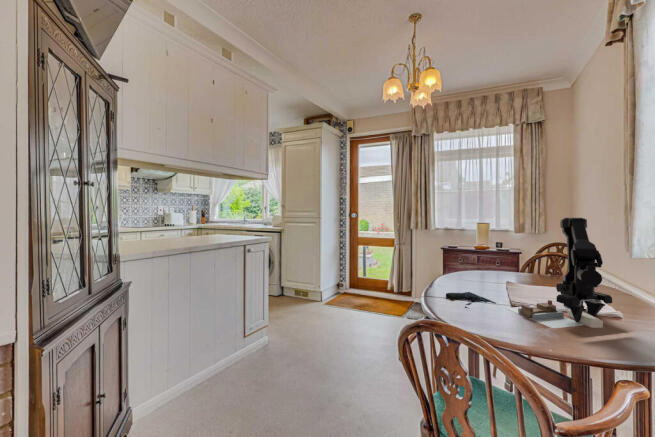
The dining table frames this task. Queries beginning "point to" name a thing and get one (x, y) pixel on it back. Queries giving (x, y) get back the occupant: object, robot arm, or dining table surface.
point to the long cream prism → (588, 320)
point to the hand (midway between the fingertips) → (583, 321)
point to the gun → (467, 297)
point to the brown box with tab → (537, 309)
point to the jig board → (550, 318)
